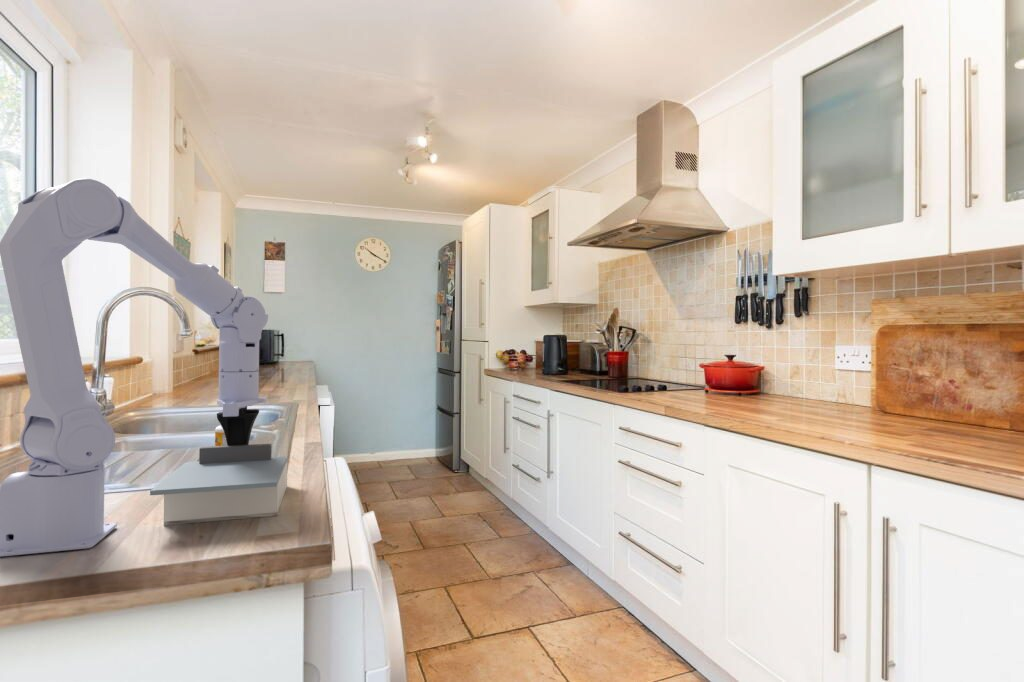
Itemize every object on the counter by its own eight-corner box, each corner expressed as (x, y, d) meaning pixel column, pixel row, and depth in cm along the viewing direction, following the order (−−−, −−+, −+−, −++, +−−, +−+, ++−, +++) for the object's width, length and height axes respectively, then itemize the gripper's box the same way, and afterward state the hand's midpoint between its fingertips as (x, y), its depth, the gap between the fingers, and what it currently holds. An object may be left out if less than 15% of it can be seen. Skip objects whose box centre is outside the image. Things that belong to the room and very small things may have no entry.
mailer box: (163, 525, 71) (164, 488, 71) (194, 492, 86) (194, 462, 86) (277, 515, 75) (277, 480, 75) (287, 486, 90) (287, 457, 90)
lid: (150, 495, 66) (150, 471, 66) (185, 465, 82) (186, 446, 82) (276, 486, 71) (276, 464, 71) (287, 460, 87) (287, 441, 87)
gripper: (260, 373, 79) (259, 464, 79) (271, 368, 93) (270, 445, 93) (207, 374, 77) (206, 467, 77) (226, 369, 91) (225, 448, 91)
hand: (238, 455), depth 85 cm, fingers closed
